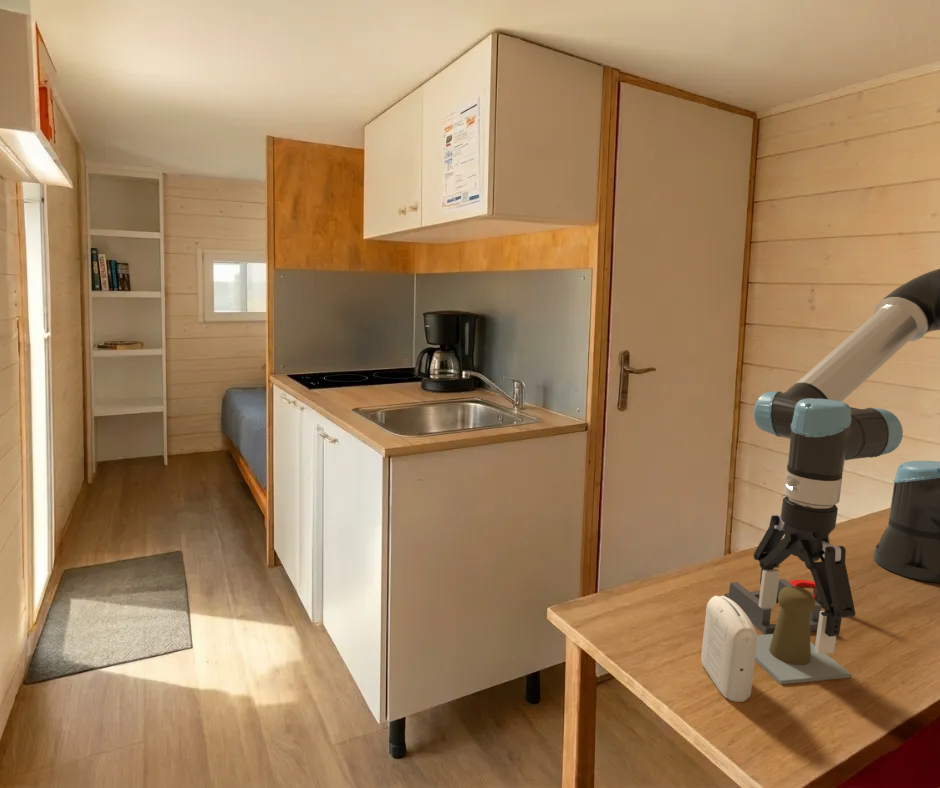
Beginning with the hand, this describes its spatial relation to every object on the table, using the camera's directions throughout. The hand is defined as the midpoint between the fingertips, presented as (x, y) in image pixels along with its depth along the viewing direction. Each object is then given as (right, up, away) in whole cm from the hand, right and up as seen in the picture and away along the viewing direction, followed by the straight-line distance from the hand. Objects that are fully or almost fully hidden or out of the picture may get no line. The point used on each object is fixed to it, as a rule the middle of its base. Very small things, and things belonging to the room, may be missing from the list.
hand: (793, 628), depth 103 cm
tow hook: (+15, -2, +23) cm, 28 cm away
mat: (0, -5, +1) cm, 5 cm away
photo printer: (-13, -6, -5) cm, 16 cm away
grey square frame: (+3, -3, +15) cm, 15 cm away
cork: (0, -5, +1) cm, 5 cm away
